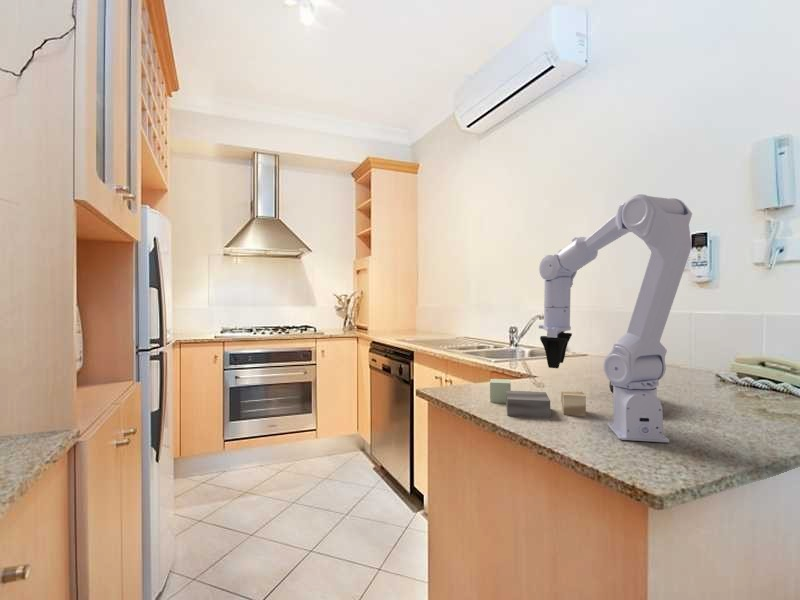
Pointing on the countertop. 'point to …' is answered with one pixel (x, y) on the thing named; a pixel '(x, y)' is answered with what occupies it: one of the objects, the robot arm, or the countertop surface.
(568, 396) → the birch cube
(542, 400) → the charcoal slab
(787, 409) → the countertop surface
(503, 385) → the sage cube
